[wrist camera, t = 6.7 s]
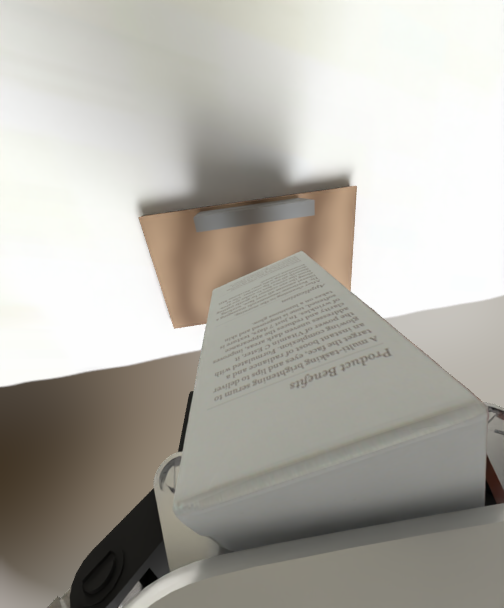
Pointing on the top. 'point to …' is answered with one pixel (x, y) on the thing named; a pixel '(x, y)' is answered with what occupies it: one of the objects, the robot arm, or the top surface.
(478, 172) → the top surface
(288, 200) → the holder stand
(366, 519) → the small box
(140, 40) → the top surface
